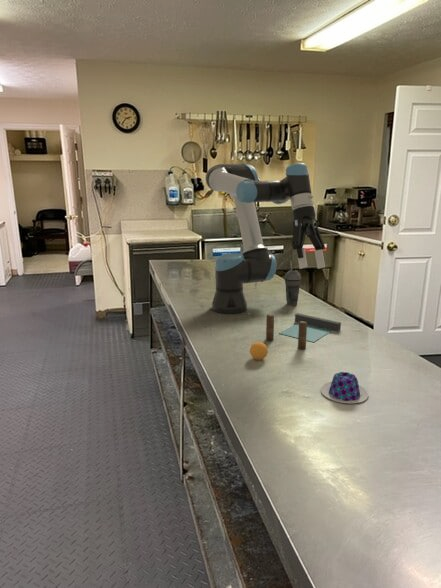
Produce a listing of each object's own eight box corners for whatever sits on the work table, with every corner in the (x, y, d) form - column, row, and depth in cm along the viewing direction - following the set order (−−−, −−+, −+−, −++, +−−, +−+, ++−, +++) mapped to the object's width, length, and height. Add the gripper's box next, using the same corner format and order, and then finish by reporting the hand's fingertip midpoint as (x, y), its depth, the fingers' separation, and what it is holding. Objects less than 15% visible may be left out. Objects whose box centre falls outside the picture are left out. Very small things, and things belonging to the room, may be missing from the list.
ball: (246, 359, 135) (246, 343, 133) (256, 354, 139) (256, 338, 137) (261, 364, 131) (261, 347, 130) (270, 358, 135) (271, 342, 134)
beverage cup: (300, 307, 187) (301, 261, 182) (283, 306, 189) (284, 261, 184) (300, 302, 194) (302, 258, 189) (284, 301, 196) (285, 258, 190)
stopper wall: (294, 321, 169) (295, 314, 168) (297, 320, 170) (297, 313, 169) (338, 331, 158) (338, 323, 157) (340, 330, 159) (340, 322, 158)
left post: (264, 339, 151) (265, 315, 148) (268, 337, 152) (269, 313, 150) (270, 341, 149) (271, 316, 147) (274, 339, 151) (275, 314, 148)
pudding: (332, 379, 122) (333, 362, 120) (375, 392, 114) (376, 374, 113) (312, 396, 113) (313, 377, 111) (357, 411, 106) (358, 391, 104)
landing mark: (278, 333, 156) (278, 333, 156) (298, 323, 167) (298, 323, 167) (313, 342, 148) (313, 342, 148) (331, 331, 158) (331, 330, 158)
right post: (296, 348, 143) (297, 322, 140) (300, 346, 145) (301, 320, 142) (303, 350, 141) (304, 324, 139) (307, 348, 143) (308, 322, 141)
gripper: (295, 200, 139) (305, 265, 137) (328, 209, 158) (337, 266, 157) (275, 207, 143) (285, 270, 142) (309, 214, 163) (318, 269, 161)
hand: (312, 268), depth 149 cm, fingers open, 13 cm apart
